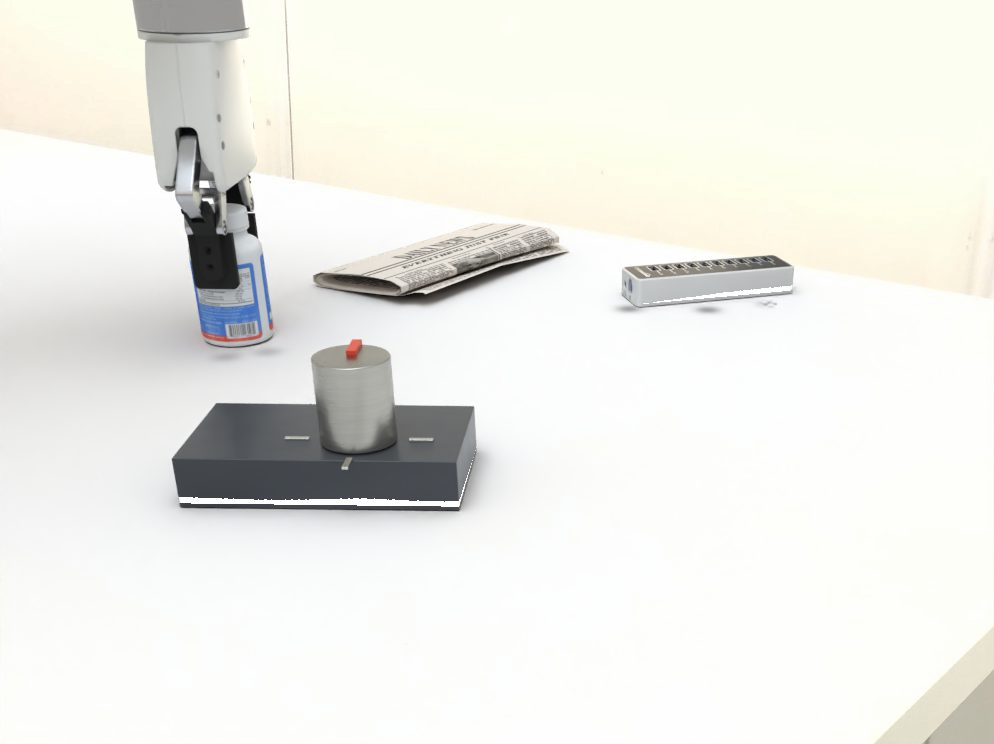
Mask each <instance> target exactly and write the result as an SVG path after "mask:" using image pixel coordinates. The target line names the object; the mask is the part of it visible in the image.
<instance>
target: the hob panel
mask: <svg viewBox="0 0 994 744" xmlns="http://www.w3.org/2000/svg"><path fill="white" fill-rule="evenodd" d="M395 412H396V424H397V435H398V438H397V440H396V442H395V443H394V444H393V445H391V446H390V447H387V448H385V449H382V450H379V451H375V452H370V453H362V454H346V453H338V452H333V451H330V450H328V449H326V448H324V447H323V446H322V444H321V442H320V434H319V425H318V416H317V408H316V403H252V402H250V403H249V402H248V403H247V402H245V403H244V402H215V404H214V405H213V407H211V409H210V410H209V411H208V412H207V414H206V415H205V416H204V418H203V419H202V420H201V421H200V422H199V424H197V426H196V427H195V429H194V430H193V432H191V434H190V435H189V436H188V437H187V438H186V440H185V441H184V443H183V444H182V445H181V446H180V448H178V450H177V451H176V453H175V454H174V455H173V456H172V457H171V463H172V469H173V475H174V481H175V486H176V491H177V498H178V497H193V498H195V497H198V498H222V499H224V498H228V499H233V498H234V499H254V500H258V499H259V500H264V499H267V500H271V499H272V500H285V499H286V500H291V499H293V500H298V499H300V500H305V499H307V500H309V499H340V498H342V499H348V498H350V499H353V498H359V499H361V498H367V499H374V498H375V499H387V500H388V499H389V500H392V499H395V500H409V501H417V500H419V501H444V502H445V501H459V499H460V497H461V494H462V490H463V487H464V484H465V481H466V478H467V475H468V472H469V469H470V472H469V475H468V479H467V482H466V485H465V489H464V492H463V496H462V499H461V502H460V506H459V507H441V506H357V505H274V504H191V503H179V502H178V503H179V507H180V508H227V509H228V508H233V509H235V508H238V509H244V508H245V509H321V510H322V509H325V510H327V509H328V510H393V511H394V510H400V511H404V510H405V511H407V510H408V511H460V510H461V506H462V502H463V499H464V495H465V492H466V488H467V485H468V482H469V478H470V475H471V472H472V468H473V464H474V461H475V458H476V454H477V451H478V450H477V448H476V447H477V430H476V411H475V406H474V405H417V404H416V405H414V404H413V405H412V404H411V405H410V404H409V405H408V404H407V405H406V404H395ZM475 450H476V451H475ZM474 453H475V455H474ZM473 457H474V458H473ZM472 460H473V461H472ZM471 463H472V465H471ZM470 466H471V468H470Z"/></svg>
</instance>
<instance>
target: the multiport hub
mask: <svg viewBox="0 0 994 744" xmlns="http://www.w3.org/2000/svg"><path fill="white" fill-rule="evenodd" d="M794 273H795V266H794V265H793V264H791V263H789V262H788V261H786V260H784V259H782V258H780V257H779V256H776V255H773V254H771V255H770V254H768V255H767V254H766V255H756V256H755V255H754V256H743V257H730V258H729V257H728V258H717V259H706V260H695V261H693V260H692V261H682V262H681V261H680V262H679V261H678V262H670V263H656V264H645V265H644V264H643V265H630V266H624V267H622V268H621V295H622V296H623V297H624V298H625V299H626V300H628V302H630V303H631V304H633V305H634V307H637V308H644V307H656V306H667V305H679V304H689V303H701V302H712V301H721V300H723V301H724V300H733V299H734V300H735V299H744V298H746V299H747V298H755V297H756V298H757V297H767V296H778V295H788V294H792V293H793V289H792V290H791V291H782V292H771V293H760V294H749V295H738V296H727V297H715V298H704V299H693V300H682V301H671V302H660V303H653V302H657V301H664V300H673V299H680V298H686V297H696V296H702V295H710V294H716V293H723V292H734V291H740V290H741V291H743V290H751V289H752V290H753V289H761V288H769V287H771V288H774V287H780V286H781V287H782V286H791V285H793V286H794ZM643 303H649V304H643Z"/></svg>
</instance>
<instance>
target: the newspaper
mask: <svg viewBox="0 0 994 744" xmlns="http://www.w3.org/2000/svg"><path fill="white" fill-rule="evenodd" d="M558 243H560V236H559V235H558V234H557V233H556V232H554V231H553V230H552V229H551V228H550V227H544V226H537V225H529V224H521V223H499V222H498V223H494V222H493V223H492V222H491V223H490V222H481V223H478V224H474V225H471V226H467V227H465V228H462V229H457V230H454V231H451V232H448V233H445V234H441V235H438V236H435V237H431V238H429V239H426V240H422V241H419V242H415V243H412V244H408V245H405V246H402V247H399V248H396V249H392V250H390V251H389V250H388V251H386V252H383V253H379V254H376V255H373V256H369V257H366V258H363V259H360V260H356V261H353V262H350V263H346V264H343V265H340V266H336V267H333V268H330V269H326V270H323V271H321V272H318V273H315V274H312V280H313V281H312V282H314V284H315V285H316V286H317V287H320V288H321V287H322V288H327V289H333V290H337V291H345V292H346V291H347V292H355V293H367V294H376V295H385V296H394V297H397V296H398V297H399V296H400V297H402V296H406V295H410V294H415V293H416V294H417V293H420V294H422V293H423V294H424V295H427V294H430V293H433V292H435V291H436V292H437V291H438V290H441V289H444V288H446V287H449V286H451V285H454V284H457V283H460V282H462V281H465V280H467V279H469V278H473V277H476V276H478V275H480V274H483V273H485V272H488V271H491V270H494V269H497V268H499V267H501V266H506V265H511V264H516V263H520V262H524V261H525V262H526V261H529V260H534V259H538V258H542V257H547V256H548V257H549V256H552V255H557V254H562V253H566V252H570V250H569V249H568V248H566V247H565V246H563V245H561V244H558ZM565 248H566V249H565Z"/></svg>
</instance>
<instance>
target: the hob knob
mask: <svg viewBox="0 0 994 744" xmlns="http://www.w3.org/2000/svg"><path fill="white" fill-rule="evenodd" d="M310 363H311V372H312V382H313V390H314V399H315V404H316V408H317V416H318V425H319V434H320V442H321V444H322V446H323V447H324V448H326V449H328V450H330V451H333V452H338V453H346V454H362V453H370V452H375V451H379V450H382V449H385V448H387V447H390V446H391V445H393V444H394V443H395V442H396V440H397V438H398V435H397V424H396V412H395V405H396V403H395V402H396V401H395V390H394V379H393V378H394V377H393V368H392V367H393V366H392V356H391V353H390V351H389V350H387V349H385V348H384V347H381V346H377V345H372V344H363V339H361V338H360V339H359V338H353V339H351V341H350V342H349V344H341V345H335V346H329V347H326V348H323V349H321V350H318V351H316V352H315V353H313V354H312V355H311V358H310Z"/></svg>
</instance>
